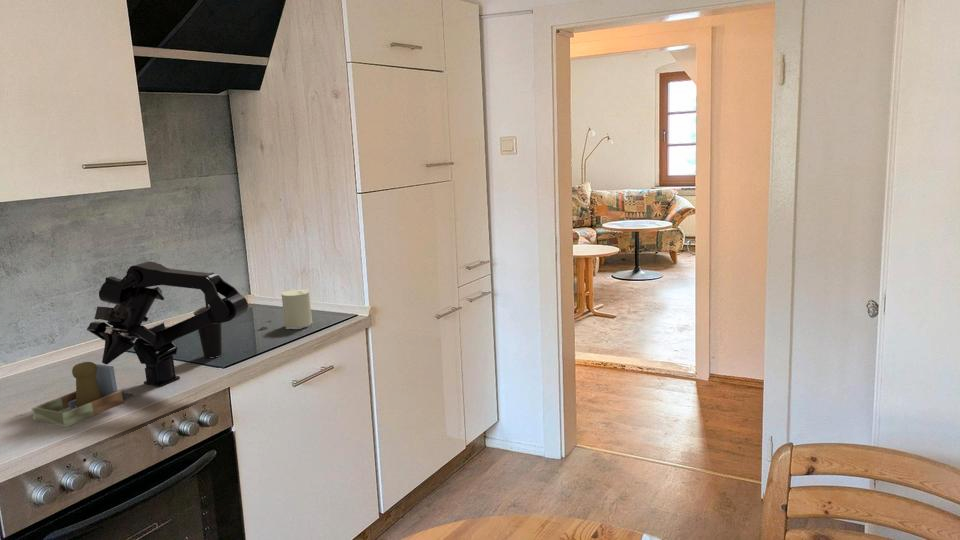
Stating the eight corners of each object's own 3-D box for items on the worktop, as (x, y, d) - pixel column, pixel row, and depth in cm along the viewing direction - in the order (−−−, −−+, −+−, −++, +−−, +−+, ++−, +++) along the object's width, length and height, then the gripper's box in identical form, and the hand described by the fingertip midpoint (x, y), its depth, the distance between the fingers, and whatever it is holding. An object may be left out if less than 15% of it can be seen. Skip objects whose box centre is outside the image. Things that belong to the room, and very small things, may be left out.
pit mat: (111, 391, 178) (111, 390, 178) (134, 395, 175) (133, 393, 175) (97, 397, 174) (97, 395, 174) (120, 401, 171) (119, 399, 171)
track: (91, 397, 175) (89, 386, 174) (123, 402, 170) (121, 391, 169) (33, 420, 162) (31, 407, 161) (66, 426, 157) (64, 414, 156)
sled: (95, 397, 174) (89, 363, 172) (118, 401, 171) (113, 366, 169) (69, 408, 168) (63, 372, 166) (93, 412, 164) (87, 376, 163)
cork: (109, 401, 171) (102, 358, 169) (96, 411, 165) (89, 366, 163) (84, 402, 171) (77, 360, 169) (71, 412, 165) (63, 368, 163)
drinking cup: (227, 357, 202) (219, 290, 198) (199, 361, 199) (190, 293, 195) (226, 350, 209) (218, 285, 205) (199, 354, 206) (190, 288, 202)
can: (298, 331, 227) (294, 295, 224) (278, 328, 231) (274, 292, 229) (318, 323, 234) (315, 289, 232) (298, 321, 239) (295, 286, 237)
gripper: (87, 290, 177) (53, 345, 169) (139, 293, 169) (105, 351, 161) (119, 313, 185) (88, 366, 178) (170, 317, 177) (139, 372, 170)
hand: (104, 363), depth 171 cm, fingers closed
